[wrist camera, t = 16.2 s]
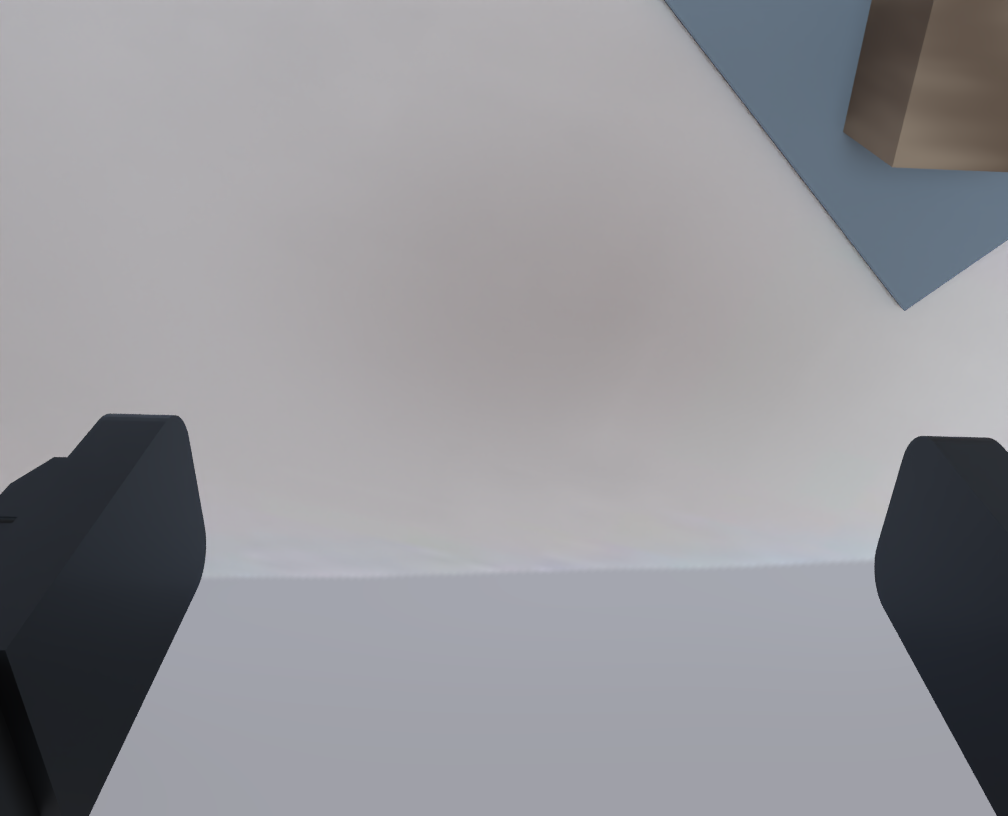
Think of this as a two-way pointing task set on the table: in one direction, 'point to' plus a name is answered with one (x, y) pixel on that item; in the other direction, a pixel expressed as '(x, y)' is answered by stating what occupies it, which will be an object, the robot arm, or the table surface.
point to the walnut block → (933, 85)
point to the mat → (847, 139)
